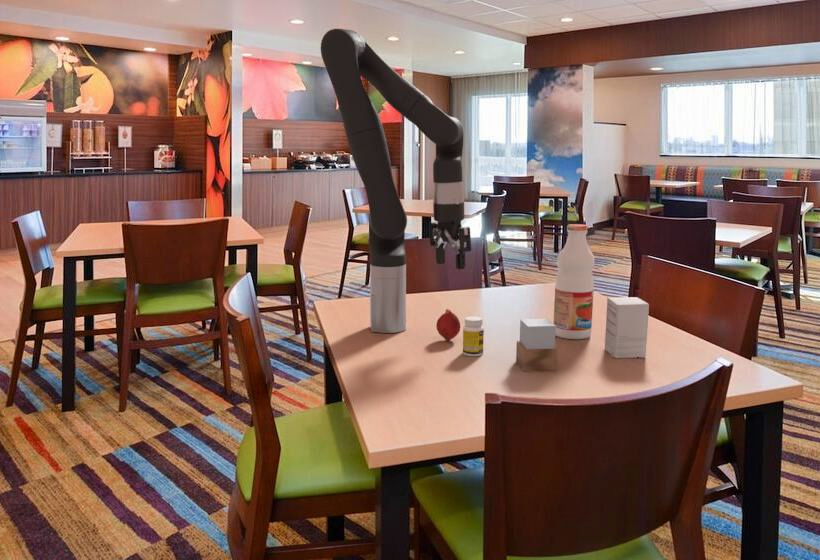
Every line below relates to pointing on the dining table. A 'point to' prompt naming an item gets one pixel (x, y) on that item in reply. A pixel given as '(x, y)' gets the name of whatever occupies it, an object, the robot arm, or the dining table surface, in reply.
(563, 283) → the fruit juice
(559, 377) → the dining table surface
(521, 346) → the bottom block
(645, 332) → the supplement box
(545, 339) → the top block
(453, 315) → the onion
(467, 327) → the supplement bottle
